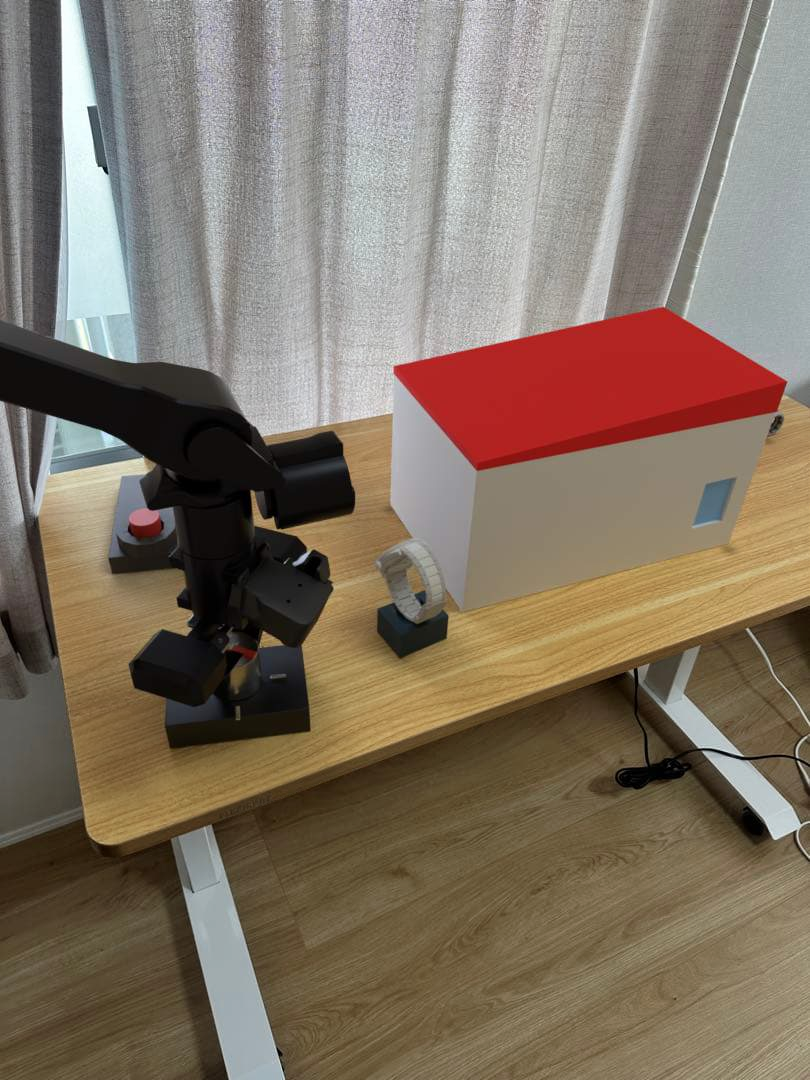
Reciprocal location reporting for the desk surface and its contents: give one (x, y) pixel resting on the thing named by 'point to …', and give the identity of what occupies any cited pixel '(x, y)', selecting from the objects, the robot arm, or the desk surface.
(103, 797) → the desk surface
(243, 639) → the lock knob
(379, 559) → the watch
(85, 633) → the desk surface
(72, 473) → the desk surface
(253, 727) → the lock panel
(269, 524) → the desk surface
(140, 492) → the dark grey button base
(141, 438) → the robot arm
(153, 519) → the bell button
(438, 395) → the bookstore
